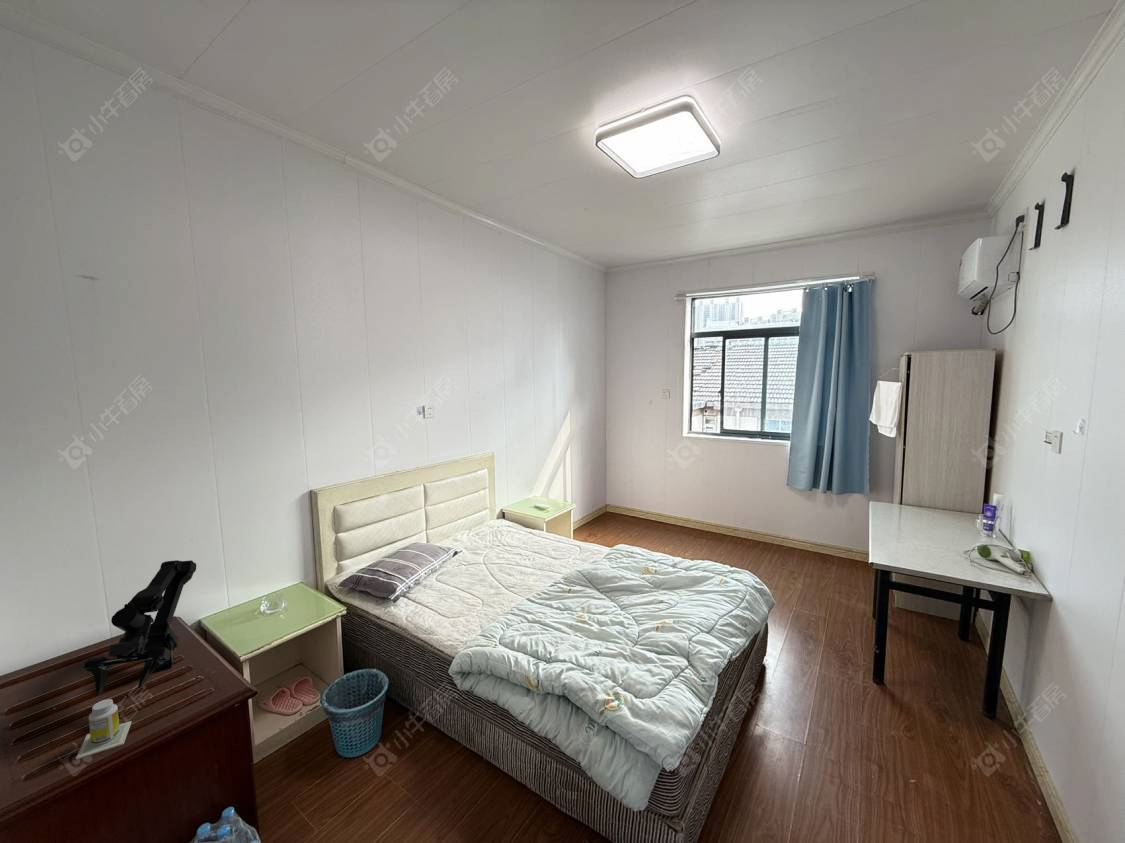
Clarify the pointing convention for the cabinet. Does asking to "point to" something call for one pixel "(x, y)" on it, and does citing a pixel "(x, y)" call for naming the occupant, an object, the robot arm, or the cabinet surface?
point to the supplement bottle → (103, 722)
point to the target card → (91, 749)
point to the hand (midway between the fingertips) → (119, 691)
